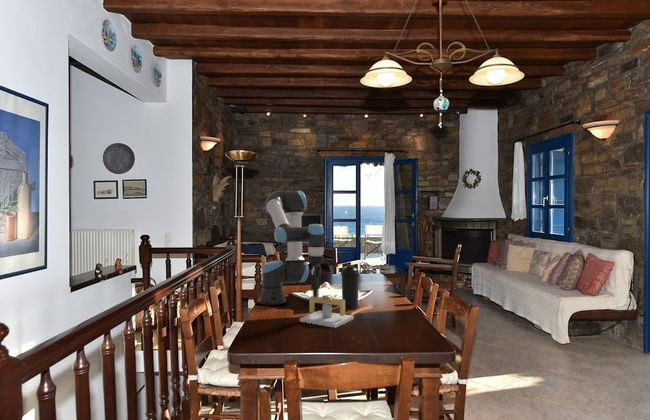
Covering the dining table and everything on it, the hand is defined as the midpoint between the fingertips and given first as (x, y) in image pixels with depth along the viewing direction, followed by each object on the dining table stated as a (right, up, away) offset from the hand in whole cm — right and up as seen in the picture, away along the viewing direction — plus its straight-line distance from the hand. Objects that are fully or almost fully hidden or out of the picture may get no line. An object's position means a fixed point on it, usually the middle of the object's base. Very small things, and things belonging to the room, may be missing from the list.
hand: (315, 302), depth 221 cm
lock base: (+6, -8, -4) cm, 11 cm away
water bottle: (+18, -8, +22) cm, 29 cm away
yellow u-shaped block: (+6, -5, -5) cm, 9 cm away
